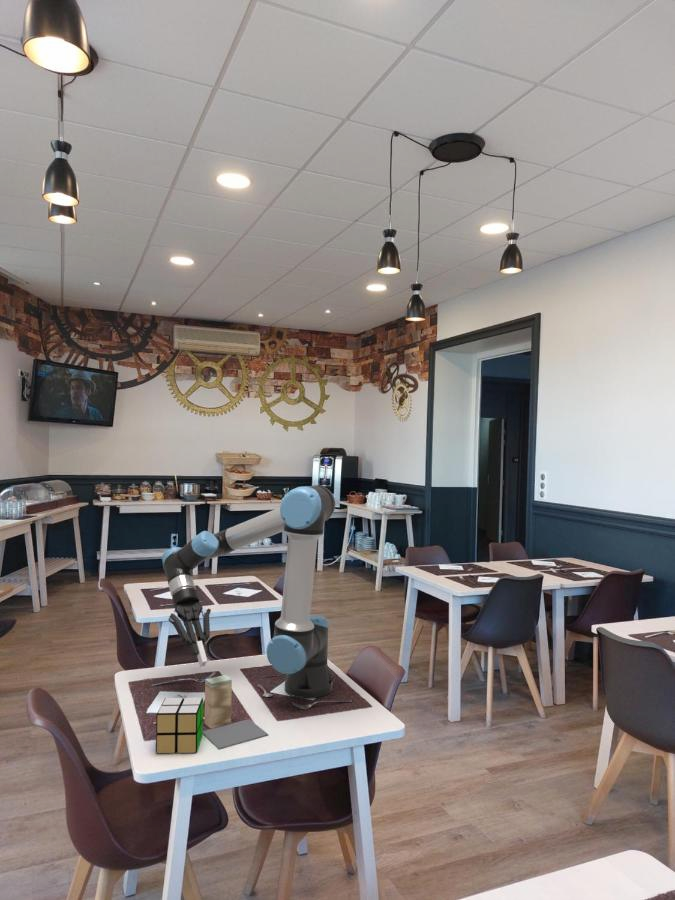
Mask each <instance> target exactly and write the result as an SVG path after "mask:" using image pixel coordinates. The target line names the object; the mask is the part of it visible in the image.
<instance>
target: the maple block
mask: <svg viewBox="0 0 675 900" xmlns="http://www.w3.org/2000/svg"><path fill="white" fill-rule="evenodd" d="M204 680H205V682H204V724H205V726H207V727H208V728H209V729H210V728H211V729H213V728H217V727H221V726H225V725H228V724H232V690H233V689H232V685H233V684H232V683H233V682H232V681H233V680H232V678H231V677H229V676H227V675H226V674H224V675H223V674H222V675H219V676H214V677H210V678H205V679H204Z"/></svg>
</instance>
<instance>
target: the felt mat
mask: <svg viewBox="0 0 675 900" xmlns="http://www.w3.org/2000/svg"><path fill="white" fill-rule="evenodd" d="M202 736H204V737H205V738H206V739H207V740H208V741H209V742H210V743H212V745H214V746H215V748H217V749H218V750H223V749H225V748H226V749H227V748H230V747H232V746H236V745H237V746H238V745H239V744H243V743H246V742H251V741H252V740H253V741H254V740H257V739H261V738H263V737H268V736H269V734H268V732H266V731H265V730H264V729H263V728H261V727H260V726H258V725H257V724H256V723H255V722H253V721H252V720H251V719H250V718H248V719H244V720H240V721H237V722H234V723H233V722H231V723H230V724H226V725H223V726H219V727H215V728H211V729H210V728H209V729H206V730H203V735H202Z"/></svg>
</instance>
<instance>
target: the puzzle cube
mask: <svg viewBox="0 0 675 900" xmlns="http://www.w3.org/2000/svg"><path fill="white" fill-rule="evenodd" d="M155 716H156V717H155V721H156V724H155V733H156V734H155V754H156V753H157V754H156V755H167V753H168V754H169V753H175V754H178V753H179V754H197V753H198V751H199V747H200V744H201V741H202V738H203V736H204V735H203V731H204V698H203V697H166V698H164V699H163V701H162V704H160V707H159V709H158V711H157V712H156V715H155ZM163 753H165V754H163Z"/></svg>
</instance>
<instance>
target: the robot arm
mask: <svg viewBox="0 0 675 900" xmlns="http://www.w3.org/2000/svg"><path fill="white" fill-rule="evenodd" d="M279 506H280V507H278V508H276V509H272V510H270V511H268V512H266V513H263V514H260V515H258V516H256V517H253V518H250V519H248V520H246V521H243V522H241V523H238V524H236V525H234V526H231V527H228V528H226V529H224V530H221V531H219V532H216V533H212V532H210V531H207V530H203V531H200V532H199V534H197V535H195V536H194V537H193V538H192V539H191V540H190V541H189V542H187V543H186V544H184V545H183V547H179V546H174V547H171V548H170V549H167V550H165V551H164V552H163V554H162V556H161V561H162V567H163V571H164V573H165V577H166V579H167V584H168V588H169V592H170V596H171V598H172V603H173V607H174V612H173V613H170V615H169V617H168V620H167V621H168V622H170V623H171V624H172V625H173V627H174V629H175V632H176V633H177V634H178V636H179V638H180V640H181V642H182V644H183V645H184V646H187V645H189V647H190V648H191V651H192V653H193V655H194V656H196V659H197V660H198V665H199V667H205V666H206V664H207V663H208V657H207V655H206V654H207V653H208V648H207V644H206V642H207V643H208V641H209V638H210V637H211V628H210V626H211V625H210V624H211V623H210V615H211V611H212V610H211V608H204V607H203V605H202V604H201V603H200V598H199V595H198V592H197V590H196V585H195V581H194V578H193V575H192V571H193V570H195V569H196V568H197V567H198V566H199V565H200V564H202V563H203V562H204V561H207V560H210V559H214V558H217V557H221V556H225V555H228V554H230V553H232V552H234V551H236V550H239V549H241V548H244V547H247V546H248V545H252V544H254V543H256V542H259V541H262V540H264V539H267V538H269V537H272V536H274V535H277V534H280V533H283V532H284V533H285V534H286V535H287V538H288V540H287V549H286V558H285V559H286V560H285V569H284V570H285V571H284V579H283V580H284V582H283V591H282V600H281V601H282V602H281V611H280V617H279V618H278V619H276V621H275V623H274V631H273V637H272V638H270V640H269V642H268V644H267V646H266V658H267V661H268V663H269V665H270V666H272V668H273V669H274V670H275V671H276V672H279V673H280V674H283V675H286V678H285V679H284V691H285V692H286V693H287V694H289V695H290V694H291V695H290V696H292V695H294V696H293V697H296V696H297V698H302V699H303V698H304V699H305V698H306V699H311V698H312V699H313V698H319V697H324V696H327V695H329V694H330V693H332V692H333V688H334V687H333V684H334V683H333V679H332V678H333V677H332V675H331V673H330V669H329V665H328V658H329V656H328V654H329V653H328V650H329V647H328V646H329V643H328V642H329V629H330V628H329V623H328V622H329V620H328V618H327V617H325V616H323V615H319V614H311V608H312V600H313V599H312V597H313V590H314V589H313V587H314V580H315V579H314V578H315V567H316V557H317V547H318V540H319V539H320V538H321V537H322V536H323V535H324V530H325V522H327V521H328V520H329V519H330V518H331V517H332V516H333V514H334V513H335V509H336V498H335V496H334V494H333V493H332V492H331V490H330V489H328V488H327V487H325V486H322V485H314V484H313V485H306V486H298V487H295V488H293V489H291V490H289V491H288V492H287V493H286V494H285V495H284V497H282V499H281V502H280V505H279ZM201 615H202V616H201ZM200 616H201V617H202V623H201V622H200V621H201V620H200V619H201V618H200ZM181 621H182V622H181ZM182 623H183V624H182ZM201 624H202V625H201Z"/></svg>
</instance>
